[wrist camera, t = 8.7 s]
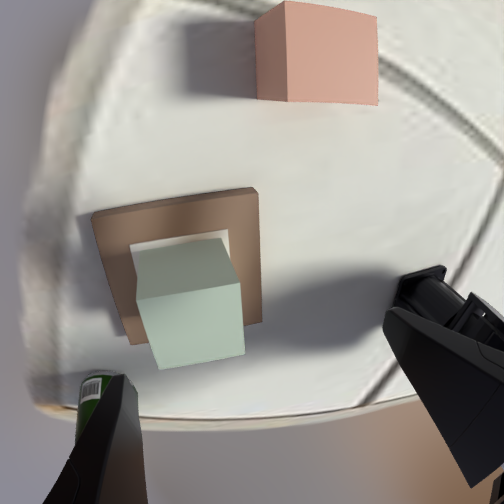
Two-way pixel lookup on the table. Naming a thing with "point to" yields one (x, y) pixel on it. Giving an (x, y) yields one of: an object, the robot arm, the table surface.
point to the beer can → (92, 396)
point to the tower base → (179, 232)
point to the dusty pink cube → (316, 55)
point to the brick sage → (190, 303)
